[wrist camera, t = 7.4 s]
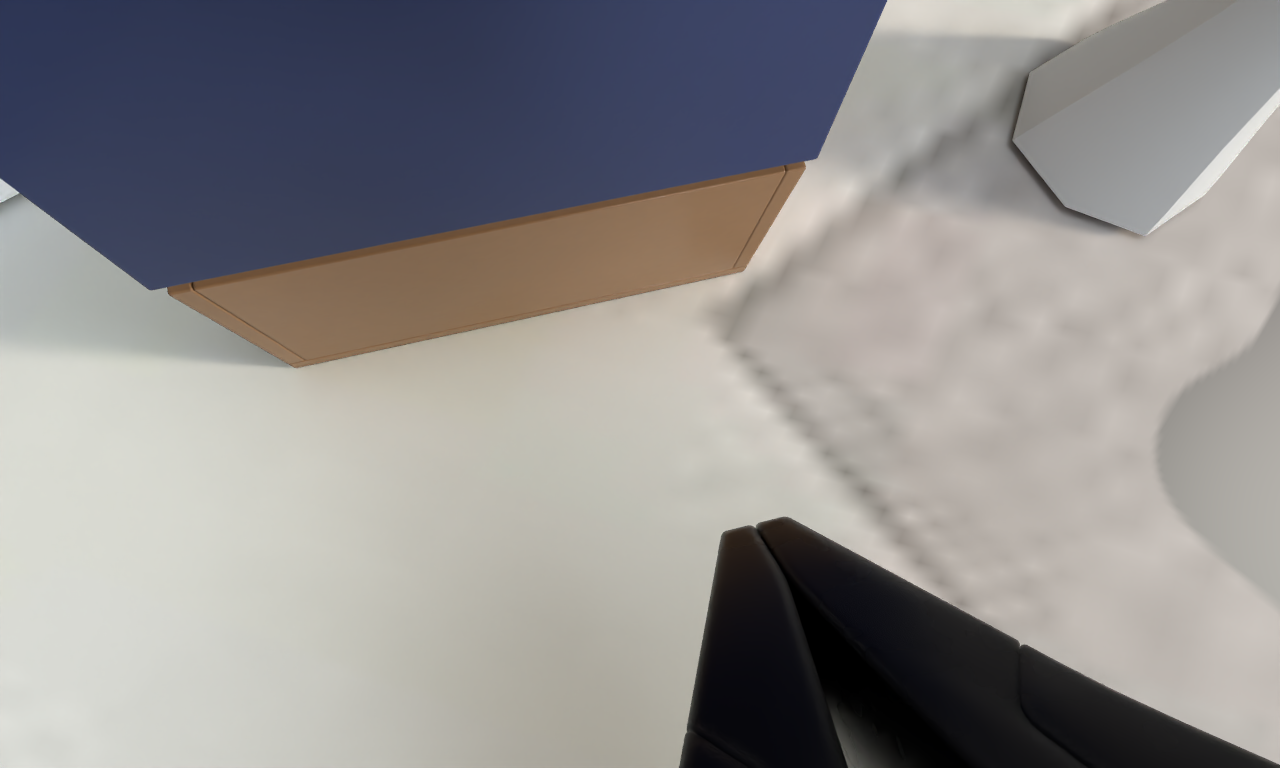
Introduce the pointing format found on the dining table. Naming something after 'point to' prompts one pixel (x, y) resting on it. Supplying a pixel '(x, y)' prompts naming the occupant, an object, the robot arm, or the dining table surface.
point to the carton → (496, 270)
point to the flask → (1152, 108)
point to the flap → (394, 114)
